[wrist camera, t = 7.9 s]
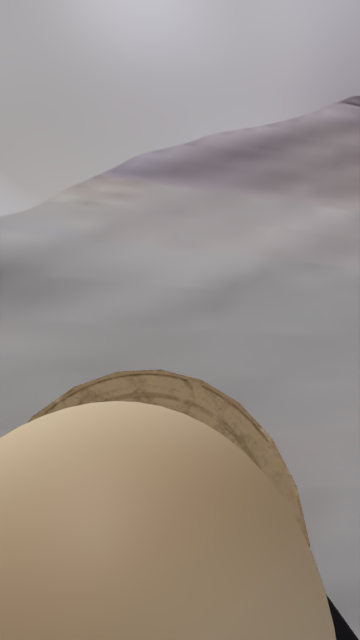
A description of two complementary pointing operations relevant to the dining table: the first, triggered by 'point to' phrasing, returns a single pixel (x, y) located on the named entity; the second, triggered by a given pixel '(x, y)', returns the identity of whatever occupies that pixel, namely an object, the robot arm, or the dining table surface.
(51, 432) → the dome-topped beige peg
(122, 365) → the dining table surface
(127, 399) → the ringed beige coaster
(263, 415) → the dining table surface
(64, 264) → the dining table surface
